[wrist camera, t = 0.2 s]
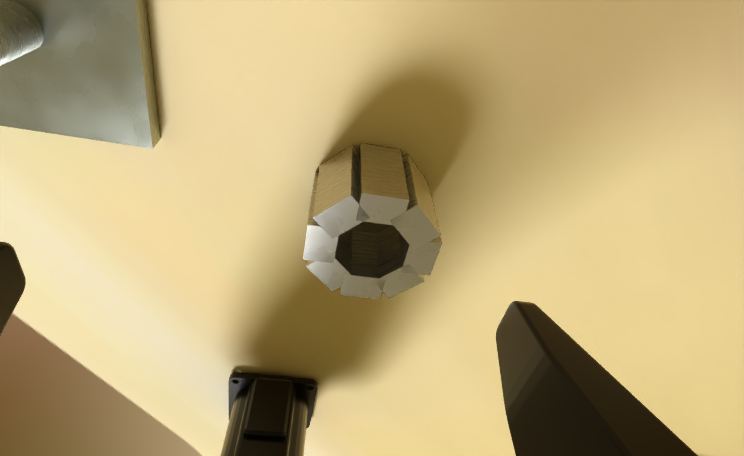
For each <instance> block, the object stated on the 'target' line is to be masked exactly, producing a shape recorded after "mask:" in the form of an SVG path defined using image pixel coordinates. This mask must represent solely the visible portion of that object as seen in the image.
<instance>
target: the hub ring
mask: <svg viewBox="0 0 744 456" xmlns="http://www.w3.org/2000/svg"><path fill="white" fill-rule="evenodd" d="M440 236H441V234H440V230H439V226H438V222H437V218H436V214H435V210H434V206H433V202H432V198H431V194H430V190H429V186H428V182H427V181H426V179H425V178H424V176H423V175H422V173H421V172H420V171H419V169H418V168H417V166H416V165H415V163H414V162H413V161H412V159H411V158H410V156H409V155H408V154H407V155H405V156H404V157H402V155H401V150H400V149H394V148H387V147H381V146H375V145H369V144H363V143H361V145H360V150H359V153H358V152H357V151H356V149H355V148H354V147H353V146H352V145H351V146H349V147H348V148H346V149H345V150H343V151H342V152H340V153H339V154H337V155H335V156H334V157H332V158H331V159H329V160H328V161H326V162H324V163H323V164H321V165H320V167H319V172H315V178H314V185H313V191H312V198H311V205H310V211H309V218H308V225H307V232H306V240H305V247H304V255H303V260H307V261H306V267H307V268H308V269H309V270H310V271H311V272H312V273H313V274H314V275H315V276H316V277H317V278H318V279H319V280H320V281H321V282H322V283H324V284H325V285H326V286H327V287H328V288H329V289H330V290H331V291H334V290H336V289H338V288H340V295H344V296H353V297H361V298H370V299H379V300H380V298H381V295H382V291H383V292H384V294H385V295H386V296H387V297H388V298H390V297H392V296H395V295H397V294H399V293H401V292H403V291H405V290H407V289H409V288H411V287H413V286H415V285H417V284H419V283H421V282H424V278H423V275H430V274H431V271H432V268H433V266H434V263H435V260H436V258H437V255H438V252H439V250H440V247H441V244H442V242H441V238H440Z"/></svg>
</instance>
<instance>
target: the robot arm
mask: <svg viewBox="0 0 744 456" xmlns="http://www.w3.org/2000/svg"><path fill="white" fill-rule="evenodd" d="M24 288H25V276H24V273H23V270H22V268H21V265H20V263H19V260H18V257H17V255H16V252H15V250H14V248H13V247H12V246H11V245H10V244H9V243H6V242H0V335H1V333H2V331H3V329H4V327H5V326H6V324H7V322H8V320H9V318H10V316H11V314H12V312H13V310H14V309H15V307H16V305H17V303H18V301H19V299H20V297H21V295H22V293H23V291H24ZM496 343H497V351H498V358H499V366H500V374H501V382H502V389H503V397H504V404H505V410H506V415H507V420H508V424H509V429H510V433H511V437H512V441H513V445H514V449H515V454H516V456H698V455H697V454H696V453H694V452H693V451H692V450H691V449H690V448H689V447H688V446H687V445H686V444H685V443H684V442H683V441H682V440H681V439H679V438H678V437H677V436H676V435H675V434H674V433H673V432H672V431H671V430H670V429H669V428H668V427H667V426H666V425H664V424H663V423H662V422H661V421H660V420H659V419H658V418H657V417H656V416H655V415H654V414H653V413H652V412H650V411H649V410H648V409H647V408H646V407H645V406H644V405H643V404H642V403H641V402H640V401H639V400H638V399H637V398H635V397H634V396H633V395H632V394H631V393H630V392H629V391H628V390H627V389H626V388H625V387H624V386H623V385H621V384H620V383H619V382H618V381H617V380H616V379H615V378H614V377H613V376H612V375H611V374H610V373H609V372H608V371H606V370H605V369H604V368H603V367H602V366H601V365H600V364H599V363H598V362H597V361H596V360H595V359H594V358H593V357H591V356H590V355H589V354H588V353H587V352H586V351H585V350H584V349H583V348H582V347H581V346H580V345H579V344H577V343H576V342H575V341H574V340H573V339H572V338H571V337H570V336H569V335H568V334H567V333H566V332H565V331H564V330H562V329H561V328H560V327H559V326H558V325H557V324H556V323H555V322H554V321H553V320H552V319H551V318H550V317H549V316H547V315H546V314H545V313H544V312H543V311H542V310H541V309H540V308H539V307H538V306H537V305H535V304H534V303H530V302H521V301H514V302H512V303H511V304H510V305H509V307H508V309H507V311H506V313H505V315H504V317H503V318H502V320H501V322H500V324H499V326H498V328H497V332H496ZM316 391H317V382H316V381H315V380H312V379H300V378H289V377H277V376H266V375H255V374H243V373H233V374H231V375H230V378H229V424H228V428H227V432H226V436H225V440H224V445H223V449H222V453H221V456H303V455H304V444H305V434H306V428H308V427H309V425H310V421H311V416H312V411H313V406H314V401H315V396H316Z"/></svg>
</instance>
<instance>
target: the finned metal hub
mask: <svg viewBox="0 0 744 456" xmlns="http://www.w3.org/2000/svg"><path fill="white" fill-rule="evenodd" d="M0 125H1V126H7V127H14V128H20V129H27V130H33V131H40V132H46V133H53V134H59V135H66V136H73V137H79V138H86V139H92V140H99V141H105V142H112V143H118V144H125V145H131V146H138V147H145V148H151V149H153V148H154V146H155V145H156V144H157V143H158V142H159V140H160V130H159V121H158V112H157V102H156V93H155V84H154V74H153V65H152V56H151V46H150V37H149V28H148V18H147V9H146V0H0Z"/></svg>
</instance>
